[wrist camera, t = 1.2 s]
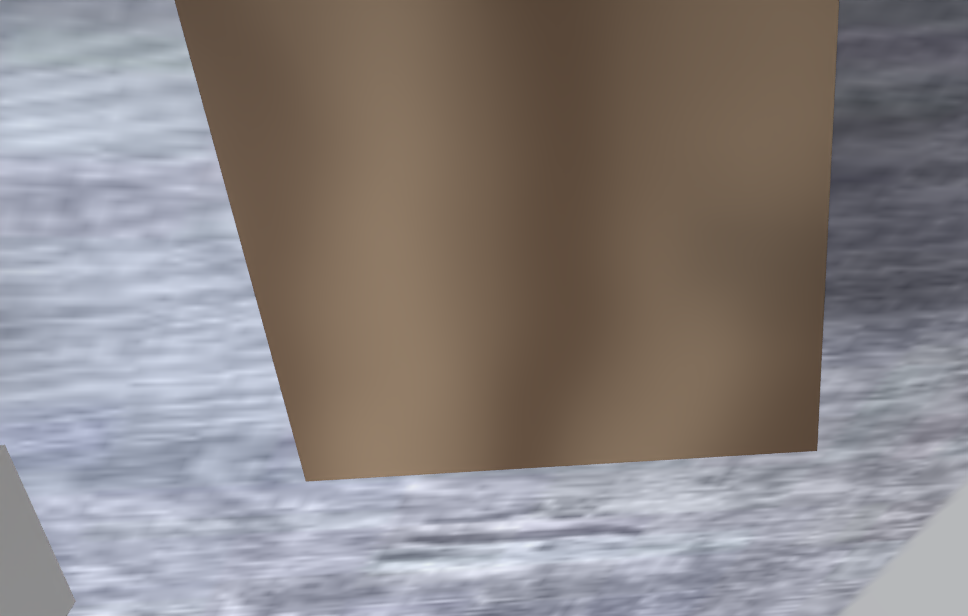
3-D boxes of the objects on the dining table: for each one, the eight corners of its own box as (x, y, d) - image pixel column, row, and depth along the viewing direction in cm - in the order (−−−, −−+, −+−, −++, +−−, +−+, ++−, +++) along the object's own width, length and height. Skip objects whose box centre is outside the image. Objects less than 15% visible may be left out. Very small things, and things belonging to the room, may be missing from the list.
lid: (320, 444, 24) (305, 481, 22) (192, -50, 18) (163, -39, 17) (801, 412, 22) (817, 450, 21) (822, -135, 17) (846, -130, 15)
